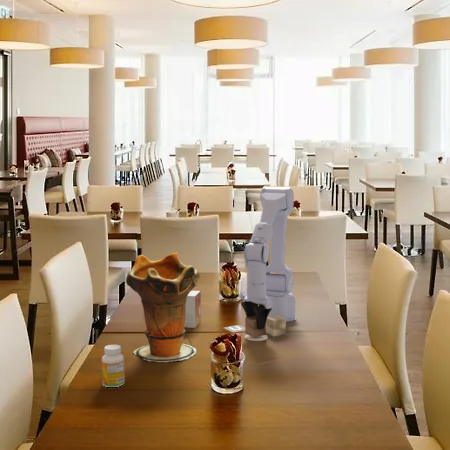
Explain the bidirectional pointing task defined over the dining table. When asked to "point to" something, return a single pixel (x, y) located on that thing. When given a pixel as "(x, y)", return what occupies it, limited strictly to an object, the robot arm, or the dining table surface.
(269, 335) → the code tile
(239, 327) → the code tile
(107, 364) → the supplement bottle
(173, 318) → the decorative vase
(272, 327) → the maple block
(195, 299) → the small box
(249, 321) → the walnut block
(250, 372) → the dining table surface
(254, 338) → the coaster
